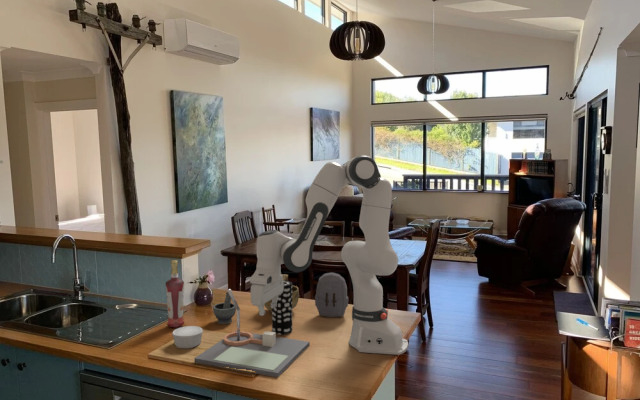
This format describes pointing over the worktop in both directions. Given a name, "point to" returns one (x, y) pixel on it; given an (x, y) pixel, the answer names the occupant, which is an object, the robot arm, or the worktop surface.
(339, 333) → the worktop surface
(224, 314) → the mortar and pestle
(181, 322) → the liquor
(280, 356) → the wire board
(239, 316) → the bent wire
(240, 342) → the ring wand
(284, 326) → the white-spotted black cylinder
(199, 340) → the ramekin
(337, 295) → the grey rounded bag
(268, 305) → the olive round bowl
